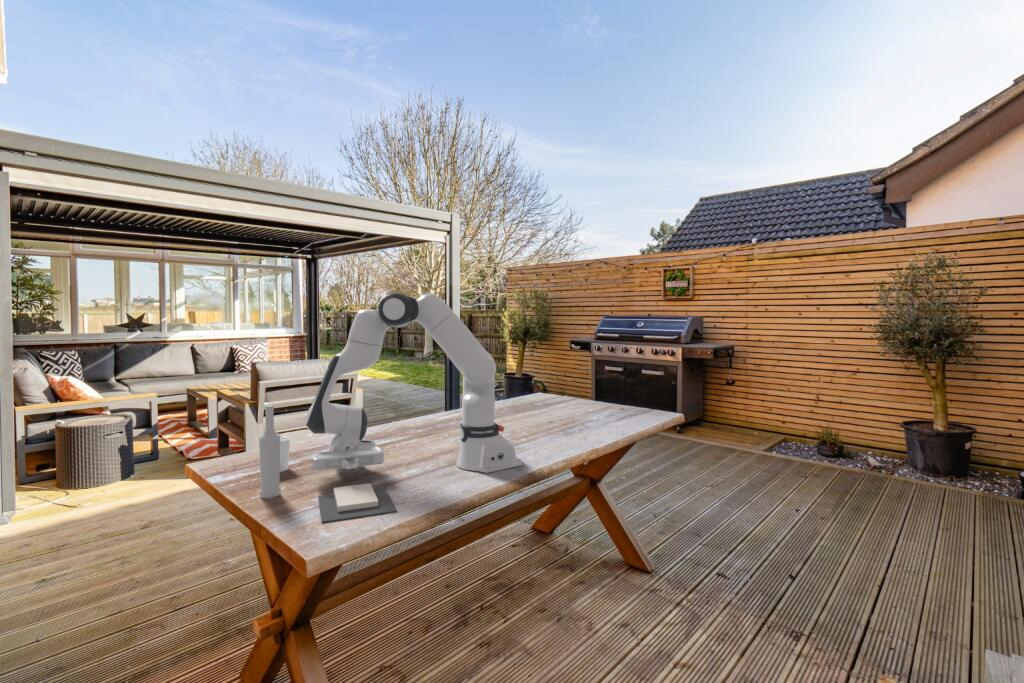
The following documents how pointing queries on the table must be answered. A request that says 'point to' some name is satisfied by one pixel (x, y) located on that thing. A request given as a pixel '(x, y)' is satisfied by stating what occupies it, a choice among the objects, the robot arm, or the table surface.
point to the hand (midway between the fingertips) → (351, 466)
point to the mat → (332, 514)
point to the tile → (355, 497)
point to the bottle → (269, 457)
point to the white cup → (284, 452)
